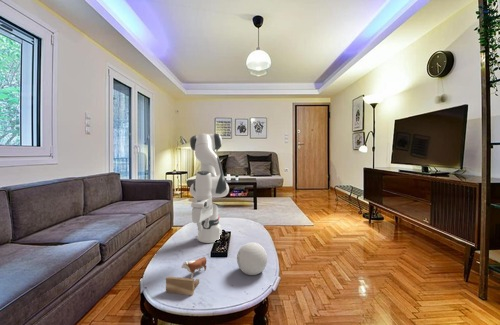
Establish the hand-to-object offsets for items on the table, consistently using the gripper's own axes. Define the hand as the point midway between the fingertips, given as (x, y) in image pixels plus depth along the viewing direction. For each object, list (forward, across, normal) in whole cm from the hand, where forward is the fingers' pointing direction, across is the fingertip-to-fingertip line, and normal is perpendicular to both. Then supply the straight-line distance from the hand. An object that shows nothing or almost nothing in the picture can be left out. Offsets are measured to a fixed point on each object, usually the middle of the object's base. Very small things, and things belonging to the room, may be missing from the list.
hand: (203, 227), depth 126 cm
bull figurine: (+20, +11, 0) cm, 23 cm away
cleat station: (+20, +22, 0) cm, 30 cm away
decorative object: (+20, +4, +27) cm, 34 cm away
